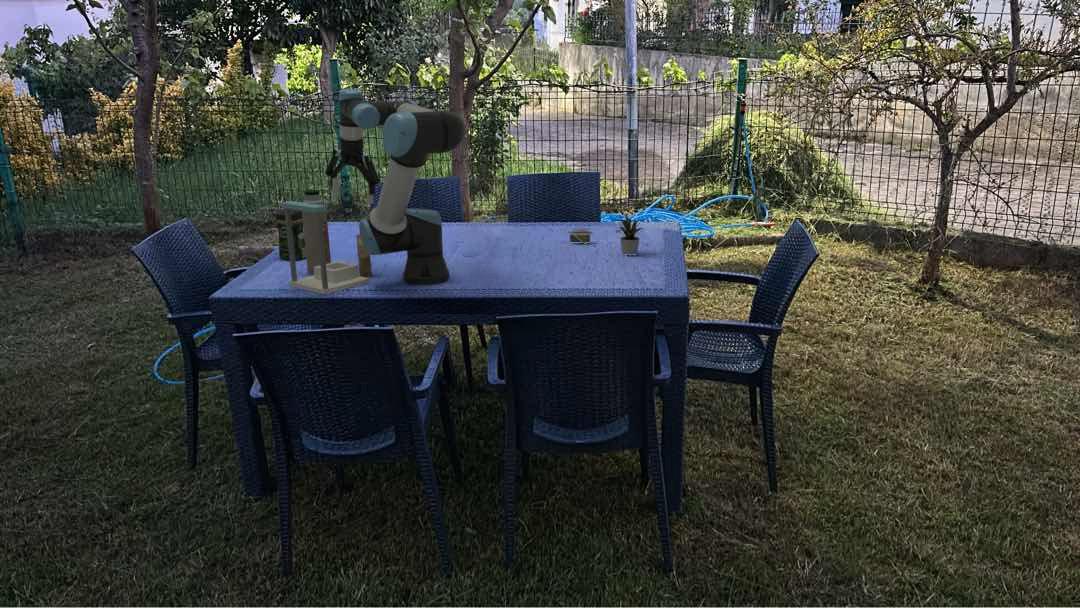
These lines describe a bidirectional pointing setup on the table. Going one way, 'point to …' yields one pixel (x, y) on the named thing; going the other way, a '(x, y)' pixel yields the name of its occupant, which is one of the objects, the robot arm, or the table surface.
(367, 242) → the robot arm
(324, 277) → the cream tall frame
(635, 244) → the house plant
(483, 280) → the table surface
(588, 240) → the platform
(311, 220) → the thermos bottle
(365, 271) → the oak peg
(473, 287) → the table surface
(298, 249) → the coffee jar
